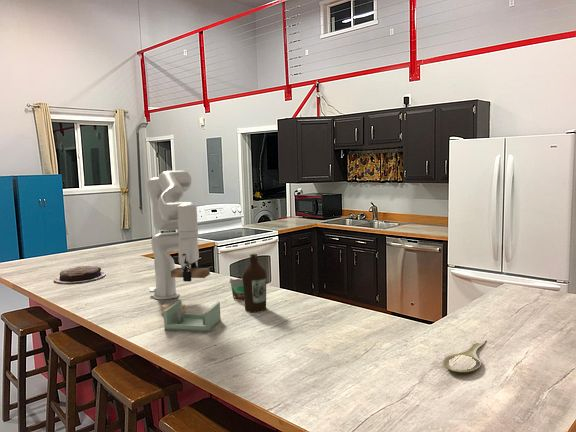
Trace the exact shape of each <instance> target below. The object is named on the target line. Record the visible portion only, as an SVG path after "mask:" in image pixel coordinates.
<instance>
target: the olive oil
mask: <svg viewBox="0 0 576 432" xmlns="http://www.w3.org/2000/svg"><path fill="white" fill-rule="evenodd" d="M258 261H259V258H258V254H257V253H250V254H249V264H248V265H247V266H245V269H244V270H243V271H242V277H241V278H243V288H244V300H243V301H244V310H245V312H247V313H261V312H264V311H266V310H267V272H266V270H265V268H264V267H263V266H262V265H261V264H260V263H259V262H258Z"/></svg>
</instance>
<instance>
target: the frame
mask: <svg viewBox="0 0 576 432" xmlns="http://www.w3.org/2000/svg"><path fill="white" fill-rule="evenodd" d="M170 305H171V306H170V307H169V308H167V309H166V310H164V315H163V324H164V331H165V332H185V333H207V334H208V333H210V332H211V331H212V330H213V329H214V328H215V327H216V326H217V325H218V324H219V323H220V322H221V302H220V301H216V302H215V303H214V304H213V305H212V306H211V307H210V308H208V309H207V310H206V311H204V313H187V312H186V313H183V310H182V308H181V305H182V300H177V301H175V302H174V303H173V304H170Z"/></svg>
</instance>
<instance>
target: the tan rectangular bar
mask: <svg viewBox="0 0 576 432" xmlns="http://www.w3.org/2000/svg"><path fill="white" fill-rule="evenodd" d="M171 305H172V304H167V303H166V304H162V305H161V315H162V316H164V310H166V309H167V308H169V307H170V306H171ZM181 308H182V310H183V313H187V309H186V304H181Z"/></svg>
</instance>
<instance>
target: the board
mask: <svg viewBox="0 0 576 432" xmlns="http://www.w3.org/2000/svg"><path fill="white" fill-rule="evenodd" d="M190 271H191V279H193V278H194V279H205V278H207V277H209V276H210V275H211V270H210V267H198V268H190ZM171 277H175V279H177V278H183V271H182V267H176V268H175V269H174V270H172V271H171Z"/></svg>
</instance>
